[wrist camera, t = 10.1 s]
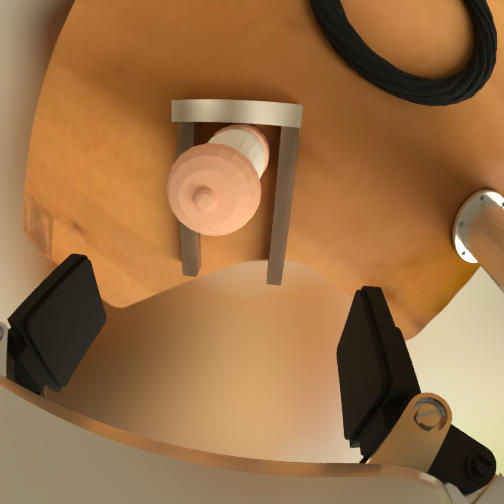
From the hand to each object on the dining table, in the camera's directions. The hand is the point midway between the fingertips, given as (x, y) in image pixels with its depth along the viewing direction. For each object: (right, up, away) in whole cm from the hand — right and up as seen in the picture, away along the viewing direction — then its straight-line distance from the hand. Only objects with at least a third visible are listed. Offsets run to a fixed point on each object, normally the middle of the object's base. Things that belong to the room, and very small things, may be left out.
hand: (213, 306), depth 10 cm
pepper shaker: (0, +14, +26) cm, 30 cm away
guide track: (-1, +10, +28) cm, 30 cm away
